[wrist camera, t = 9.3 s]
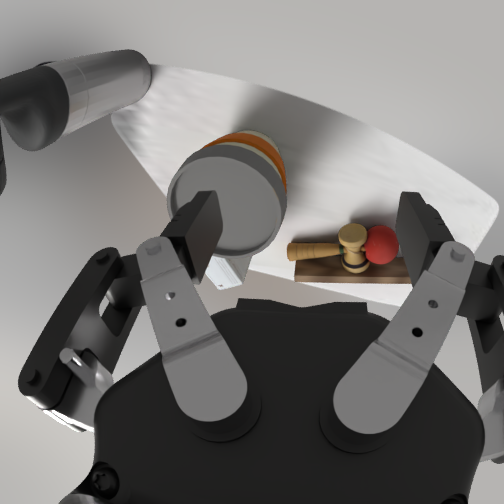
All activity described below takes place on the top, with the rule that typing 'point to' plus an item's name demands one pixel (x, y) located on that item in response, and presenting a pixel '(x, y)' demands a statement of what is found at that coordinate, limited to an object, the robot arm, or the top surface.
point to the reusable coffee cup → (237, 190)
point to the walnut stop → (334, 272)
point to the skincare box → (227, 271)
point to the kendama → (352, 247)
